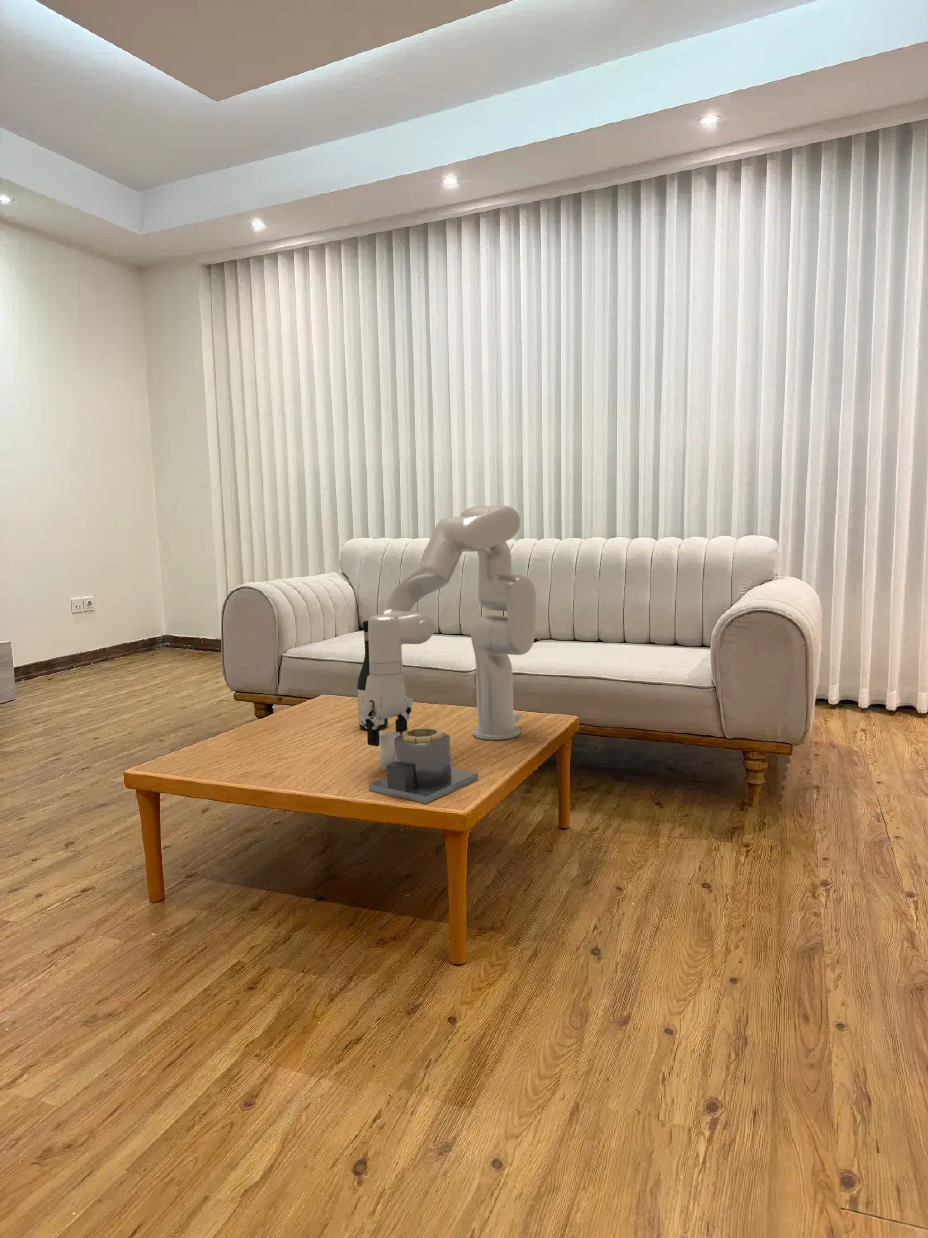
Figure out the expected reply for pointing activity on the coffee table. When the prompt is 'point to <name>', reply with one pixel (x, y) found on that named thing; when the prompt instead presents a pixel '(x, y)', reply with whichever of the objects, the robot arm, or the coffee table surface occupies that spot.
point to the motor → (422, 767)
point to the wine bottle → (362, 681)
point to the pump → (387, 748)
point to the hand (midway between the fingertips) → (387, 740)
